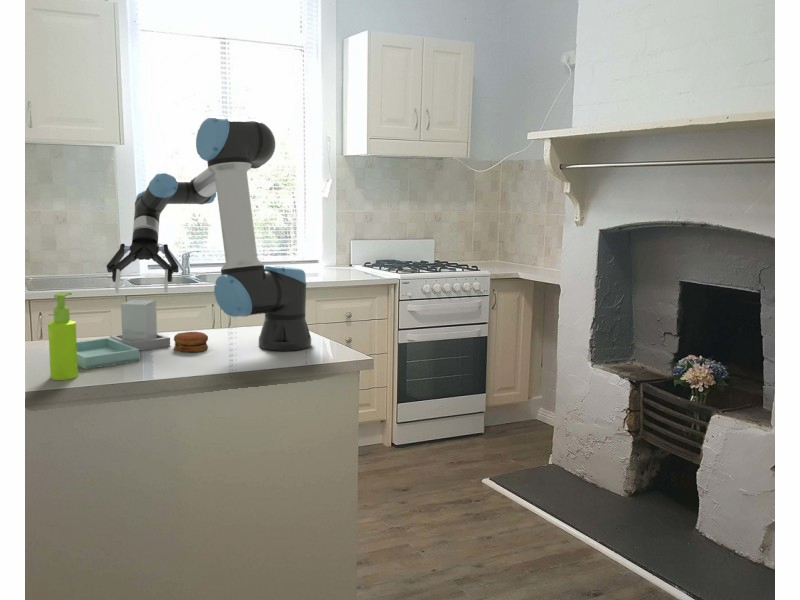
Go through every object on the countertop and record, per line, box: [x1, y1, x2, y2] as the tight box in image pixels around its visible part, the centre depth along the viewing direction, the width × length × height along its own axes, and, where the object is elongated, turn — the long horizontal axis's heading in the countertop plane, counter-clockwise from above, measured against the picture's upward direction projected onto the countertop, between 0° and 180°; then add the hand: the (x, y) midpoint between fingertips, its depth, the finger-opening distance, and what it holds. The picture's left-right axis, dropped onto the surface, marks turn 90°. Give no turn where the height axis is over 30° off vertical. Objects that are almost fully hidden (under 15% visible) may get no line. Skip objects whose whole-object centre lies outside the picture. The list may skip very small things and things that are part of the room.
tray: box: [77, 337, 141, 370], centre depth 189 cm, size 18×14×3 cm
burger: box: [173, 331, 209, 353], centre depth 202 cm, size 10×9×5 cm
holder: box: [109, 332, 171, 351], centre depth 204 cm, size 12×12×2 cm
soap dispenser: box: [47, 291, 79, 381], centre depth 170 cm, size 6×7×20 cm
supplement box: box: [120, 299, 158, 342], centre depth 203 cm, size 7×7×13 cm
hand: (141, 289), depth 211 cm, fingers open, 13 cm apart
